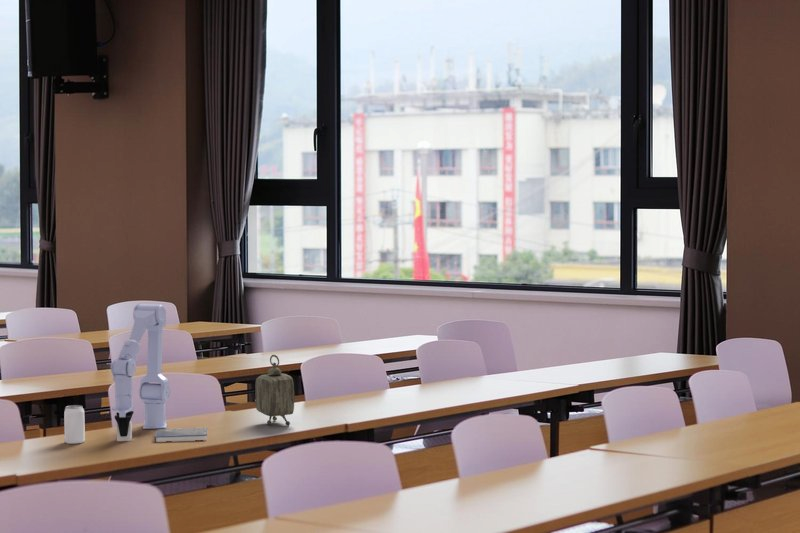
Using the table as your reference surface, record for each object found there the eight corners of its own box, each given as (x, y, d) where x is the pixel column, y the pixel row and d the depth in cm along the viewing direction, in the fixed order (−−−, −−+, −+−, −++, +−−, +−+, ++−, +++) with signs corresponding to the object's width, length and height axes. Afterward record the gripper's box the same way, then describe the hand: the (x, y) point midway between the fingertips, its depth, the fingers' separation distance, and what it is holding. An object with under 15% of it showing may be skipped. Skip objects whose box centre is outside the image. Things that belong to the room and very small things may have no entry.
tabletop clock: (294, 426, 417) (294, 356, 415) (271, 429, 412) (270, 358, 410) (276, 419, 429) (276, 351, 427) (254, 422, 424) (253, 353, 423)
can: (79, 444, 387) (78, 408, 386) (61, 443, 388) (60, 408, 387) (88, 440, 393) (87, 405, 392) (70, 439, 394) (69, 404, 394)
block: (118, 438, 397) (118, 420, 396) (131, 438, 398) (131, 420, 397) (117, 441, 392) (116, 423, 392) (130, 440, 393) (130, 423, 393)
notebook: (157, 436, 403) (157, 429, 402) (207, 434, 405) (207, 427, 405) (155, 443, 391) (155, 436, 391) (207, 442, 393) (206, 434, 393)
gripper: (113, 391, 401) (114, 430, 401) (109, 398, 386) (110, 439, 387) (134, 390, 402) (135, 430, 402) (131, 398, 387) (132, 438, 388)
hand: (124, 434), depth 395 cm, fingers open, 5 cm apart
